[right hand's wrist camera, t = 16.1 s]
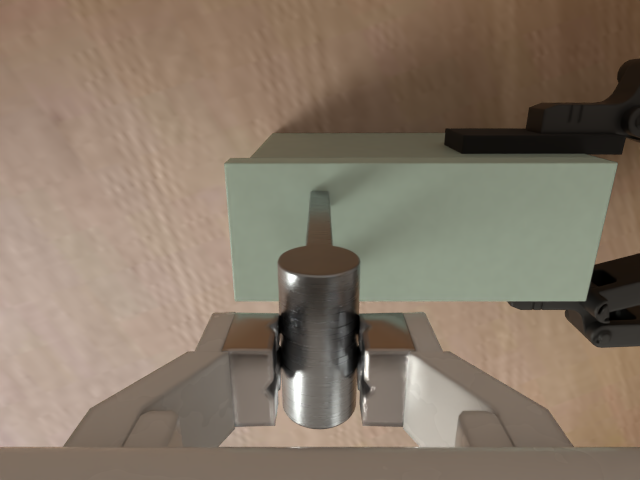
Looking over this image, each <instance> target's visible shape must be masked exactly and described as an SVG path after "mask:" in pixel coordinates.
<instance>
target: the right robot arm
mask: <svg viewBox="0 0 640 480" xmlns="http://www.w3.org/2000/svg"><path fill="white" fill-rule="evenodd" d="M280 335H281V329H280V314H278V313H235V312H225V313H213V314H212V315H211V318H210V320H209V322H208V324H207V326H206V328H205V330H204V332H203V335H202V337H201V339H200V341H199V343H198V345H197V347H196V350H195V352H186V353H185V354H183V355H181V356H180V357H178V358H176V359H174V360H173V361H171V362H169V363H168V364H166V365H164V366H162V367H161V368H159V369H157V370H156V371H154V372H152V373H150V374H149V375H147V376H145V377H144V378H142V379H140V380H138V381H137V382H135V383H133V384H132V385H130V386H128V387H126V388H125V389H123V390H121V391H120V392H118V393H116V394H114V395H113V396H111V397H109V398H108V399H106V400H104V401H102V402H101V403H99V404H97V405H96V406H94V407H92V408H90V409H89V411H88V412H87V414H86V415H85V416H84V418H83V419H82V421H81V422H80V423H79V425H78V426H77V428H76V429H75V431H74V432H73V433H72V435H71V436H70V438H69V439H68V440H67V442H66V443H65V445H64V446H63V447H0V480H640V447H573V445H572V444H571V442H570V441H569V439H568V438H567V436H566V435H565V434H564V432H563V431H562V429H561V428H560V426H559V425H558V423H557V422H556V421H555V419H554V418H553V416H552V415H551V413H550V412H549V410H548V409H546V408H544V407H543V406H541V405H539V404H538V403H536V402H534V401H533V400H531V399H529V398H527V397H526V396H524V395H522V394H521V393H519V392H517V391H516V390H514V389H512V388H510V387H509V386H507V385H505V384H504V383H502V382H500V381H499V380H497V379H495V378H494V377H492V376H490V375H488V374H487V373H485V372H483V371H482V370H480V369H478V368H477V367H475V366H473V365H471V364H470V363H468V362H466V361H465V360H463V359H461V358H460V357H458V356H456V355H455V354H453V353H451V352H443V350H442V348H441V346H440V344H439V342H438V340H437V338H436V335H435V333H434V331H433V329H432V327H431V325H430V323H429V320H428V318H427V316H426V314H425V313H423V312H415V313H370V314H358V331H357V335H358V342H359V345H358V348H357V363H356V374H357V385H358V390H360V410H361V417H362V424H363V426H393V427H403V429H404V430H405V431H406V432H407V433H408V435H409V436H410V437H411V438H412V439H413V440H414V441H415V442H416V443H417V444H418V445H419V446H420V447H218V446H219V445H220V444H221V443H222V442H223V441H224V440H225V439H226V438H227V437H228V436H229V435H230V433H231V432H232V431H233V430H234V429H235V427H244V426H275V423H276V416H277V409H278V390H280V386H281V374H282V356H281V346H280V345H279V342H280Z"/></svg>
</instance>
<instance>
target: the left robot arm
mask: <svg viewBox="0 0 640 480" xmlns="http://www.w3.org/2000/svg"><path fill="white" fill-rule="evenodd" d="M617 80H618V82H619V84H618V85H617V87H616V89H615V91H614V92H613V94H612V95H611V96H610V97H609V98H607V99H606V100H604V101H602V102H596V103H540V104H537V105H535V106H532V107H530V108H529V112H528V119H527V125H526V129H446V130H445V140H444V145H445V146H447V147H449V148H451V149H453V150H455V151H457V152H459V153H461V154H622V151H623V147H624V143H625V139H626V138H628V139H631V140H634V141H637V142H640V59H632V60H629V61H627V62H625V63H624V64H623V65H622V66H621V67H620V69H619V71H618V76H617ZM507 302H508V303H509V304H510V305H511V306H512V307H515V308H517V309H520V310H532V309H534V310H540V309H542V310H566V311H565V317H566V318H567V320H568V321H569V322H570V323H572V324H573V325H574V326H575V327H576V328H577V329H578V330H579V331H580V332H581V333H582V334H583V335H584V336H585V337H586V338H587V339H588V340H589V341H590V342H591V343H592V344H593V345H595V346H596V347H601V348H604V347H629V346H640V253H639V254H635V255H631V256H627V257H623V258H619V259H615V260H612V261H608V262H604V263H600V264H596V265H594V268H593V273H592V277H591V281H590V286H589V290H588V294H587V299H586V301H507Z"/></svg>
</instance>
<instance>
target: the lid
mask: <svg viewBox="0 0 640 480" xmlns="http://www.w3.org/2000/svg"><path fill="white" fill-rule="evenodd" d="M617 165H618V163H617V162H613V161H609V160H606V159H602V158H230V159H229V160H228V161H227V162H226V163H225V164H224V166H225V179H226V192H227V205H228V218H229V231H230V244H231V257H232V270H233V284H234V297H235V301H279V314H280V329H281V335H280V344H281V356H282V397H283V408H284V411H285V413H286V414H287V416H288V417H289V418H290V419H291V420H292V421H294V422H295V423H297V424H299V425H301V426H303V427H307V428H312V429H327V428H332V427H335V426H338V425H340V424H342V423H344V422H345V421H346V420H348V419H349V418H350V416H351V415H352V414H353V412H354V410H355V407H356V387H357V374H356V363H357V348H358V335H357V331H358V314H359V301H586V299H587V294H588V290H589V286H590V281H591V277H592V273H593V268H594V264H595V260H596V256H597V251H598V247H599V243H600V238H601V234H602V230H603V225H604V221H605V217H606V213H607V208H608V204H609V200H610V195H611V191H612V187H613V182H614V178H615V174H616V170H617Z"/></svg>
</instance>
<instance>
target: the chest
mask: <svg viewBox="0 0 640 480" xmlns="http://www.w3.org/2000/svg"><path fill="white" fill-rule="evenodd" d="M444 140H445V133H273V134H272V135H271V136H270V137H269V138H268V139H267V140H266V141H265V142H264V143H263V144H262V146H261V147H260V148H259V149H258V150H257V151H256V152H255V153H254V154H253V155H252V156H251V157H250V158H598V157H595V156H591V155H587V154H461V153H459V152H457V151H455V150H453V149H451V148H449V147H447V146H445V145H444Z"/></svg>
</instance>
